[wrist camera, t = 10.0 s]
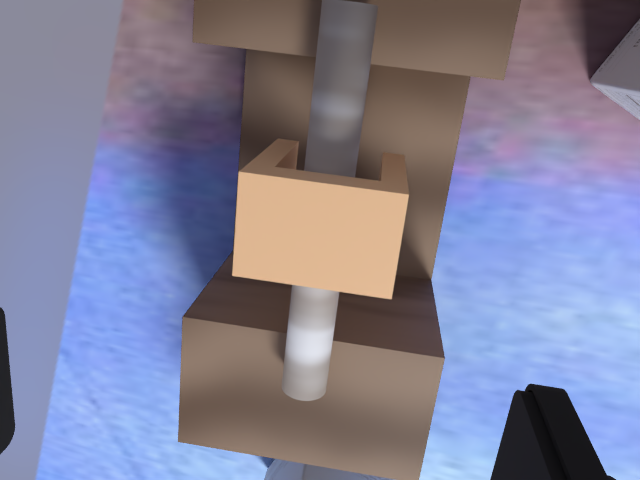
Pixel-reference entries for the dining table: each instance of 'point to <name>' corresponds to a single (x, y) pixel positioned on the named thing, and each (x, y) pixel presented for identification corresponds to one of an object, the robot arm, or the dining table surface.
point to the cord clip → (319, 224)
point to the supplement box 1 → (311, 472)
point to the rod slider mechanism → (352, 161)
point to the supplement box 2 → (622, 73)
